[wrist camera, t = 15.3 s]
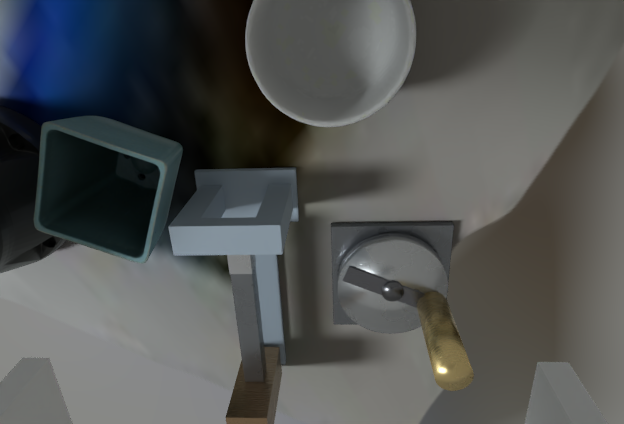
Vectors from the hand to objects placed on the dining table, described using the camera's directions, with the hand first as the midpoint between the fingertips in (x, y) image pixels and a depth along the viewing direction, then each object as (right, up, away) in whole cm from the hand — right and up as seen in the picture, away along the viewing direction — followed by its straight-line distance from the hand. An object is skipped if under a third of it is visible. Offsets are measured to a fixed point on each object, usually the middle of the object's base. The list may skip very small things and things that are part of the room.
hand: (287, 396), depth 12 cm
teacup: (+1, +20, +23) cm, 30 cm away
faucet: (+8, -1, +30) cm, 32 cm away
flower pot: (-14, +10, +28) cm, 33 cm away
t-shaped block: (-5, -1, +32) cm, 33 cm away
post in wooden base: (-5, -4, +33) cm, 33 cm away
